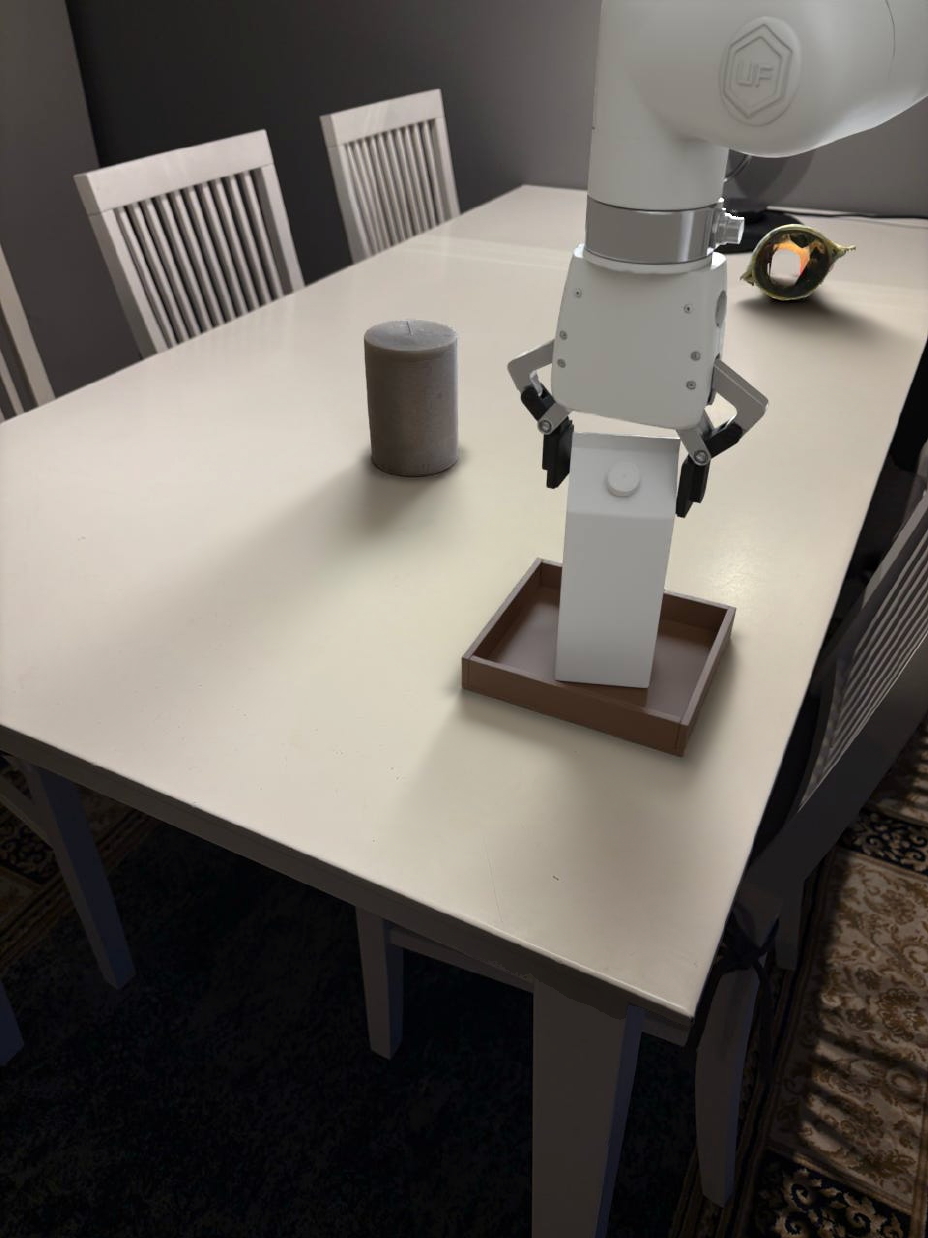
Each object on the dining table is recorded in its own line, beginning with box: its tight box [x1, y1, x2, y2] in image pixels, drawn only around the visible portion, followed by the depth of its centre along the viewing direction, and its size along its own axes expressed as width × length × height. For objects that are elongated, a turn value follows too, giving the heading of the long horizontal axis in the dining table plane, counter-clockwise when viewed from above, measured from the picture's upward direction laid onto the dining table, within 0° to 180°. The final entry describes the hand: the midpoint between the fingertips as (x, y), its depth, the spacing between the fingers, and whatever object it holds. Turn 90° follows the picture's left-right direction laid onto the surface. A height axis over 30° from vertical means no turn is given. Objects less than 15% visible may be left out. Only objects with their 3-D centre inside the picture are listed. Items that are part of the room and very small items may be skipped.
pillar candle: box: [363, 318, 460, 477], centre depth 96 cm, size 10×10×15 cm
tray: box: [461, 557, 738, 758], centre depth 71 cm, size 17×15×3 cm
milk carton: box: [555, 431, 682, 688], centre depth 66 cm, size 7×7×19 cm
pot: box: [738, 223, 858, 301], centre depth 145 cm, size 17×11×18 cm
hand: (620, 493), depth 63 cm, fingers closed on milk carton, 8 cm apart
